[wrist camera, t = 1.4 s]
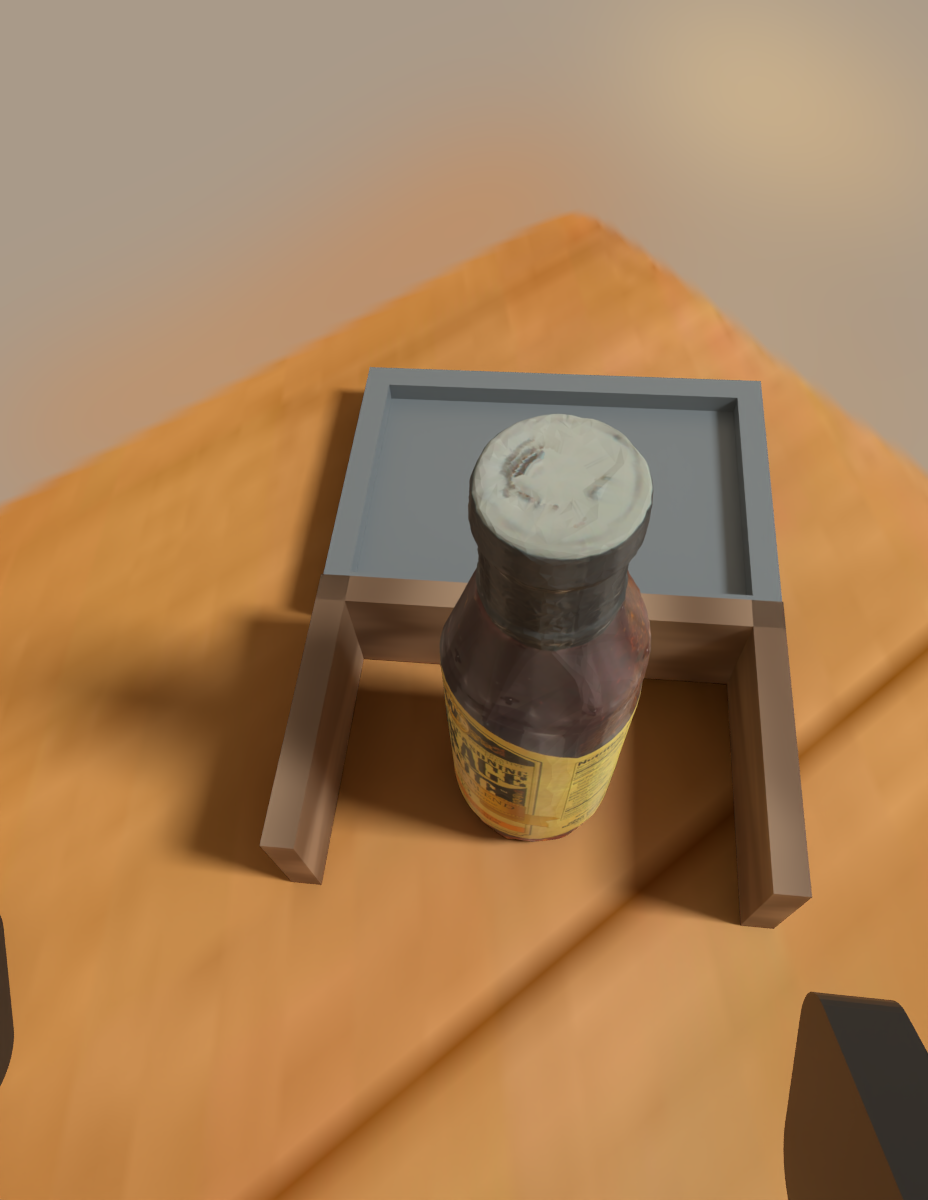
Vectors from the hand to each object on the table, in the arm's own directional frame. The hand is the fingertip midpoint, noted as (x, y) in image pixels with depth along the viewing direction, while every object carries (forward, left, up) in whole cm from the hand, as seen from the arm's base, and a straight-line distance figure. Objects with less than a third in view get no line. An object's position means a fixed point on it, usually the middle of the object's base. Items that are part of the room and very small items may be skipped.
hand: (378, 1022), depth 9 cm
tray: (+1, +26, -25) cm, 36 cm away
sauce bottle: (+1, +12, -25) cm, 28 cm away
